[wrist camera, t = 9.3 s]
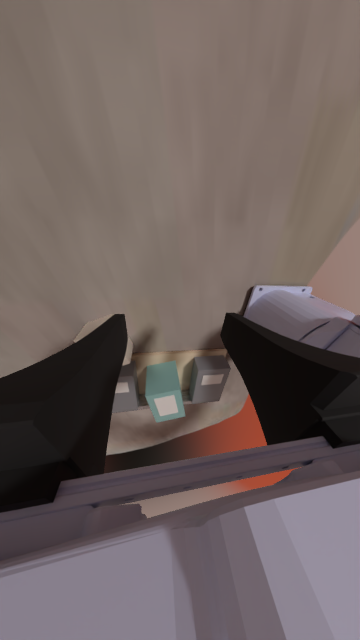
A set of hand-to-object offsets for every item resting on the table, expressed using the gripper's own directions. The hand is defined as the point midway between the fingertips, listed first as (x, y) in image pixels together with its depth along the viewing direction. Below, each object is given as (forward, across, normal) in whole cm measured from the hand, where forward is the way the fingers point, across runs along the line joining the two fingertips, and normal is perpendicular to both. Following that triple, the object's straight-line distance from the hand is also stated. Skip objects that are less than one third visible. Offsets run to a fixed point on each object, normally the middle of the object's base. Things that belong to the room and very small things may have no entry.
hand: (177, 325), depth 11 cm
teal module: (+9, 0, +18) cm, 20 cm away
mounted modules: (+10, 0, +18) cm, 21 cm away
